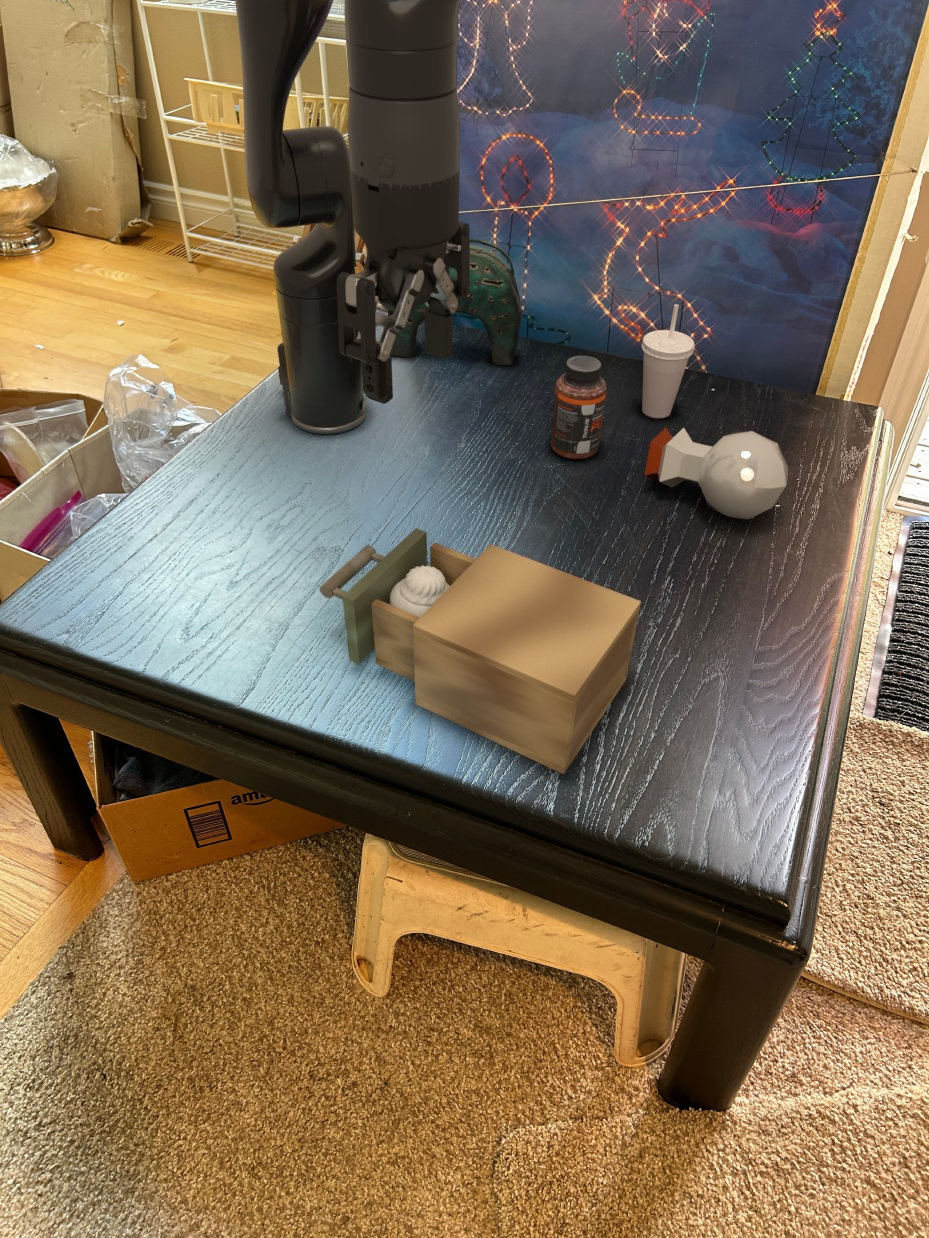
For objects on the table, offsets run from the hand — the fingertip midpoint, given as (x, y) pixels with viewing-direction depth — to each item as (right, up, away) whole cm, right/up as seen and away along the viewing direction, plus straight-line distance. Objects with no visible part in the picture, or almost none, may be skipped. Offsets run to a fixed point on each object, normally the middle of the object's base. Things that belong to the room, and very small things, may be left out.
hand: (409, 376), depth 73 cm
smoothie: (+29, +7, +45) cm, 54 cm away
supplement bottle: (+18, +1, +38) cm, 42 cm away
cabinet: (+10, -26, +8) cm, 29 cm away
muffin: (0, -21, +11) cm, 23 cm away
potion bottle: (+32, -6, +30) cm, 45 cm away
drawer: (+1, -22, +11) cm, 24 cm away
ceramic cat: (+2, +18, +56) cm, 59 cm away
